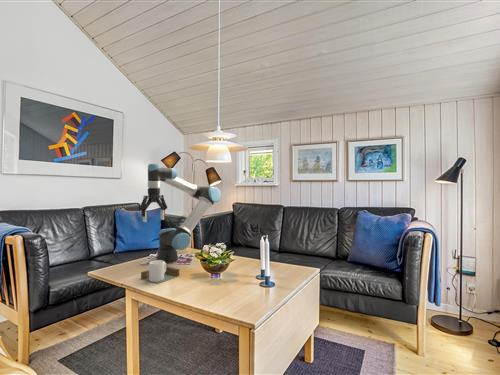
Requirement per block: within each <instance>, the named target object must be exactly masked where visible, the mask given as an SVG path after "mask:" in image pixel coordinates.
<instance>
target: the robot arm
mask: <svg viewBox="0 0 500 375" xmlns="http://www.w3.org/2000/svg"><path fill="white" fill-rule="evenodd" d="M161 182H162V183H165V184H168V185H169V186H172V187H174V188H176V189H178V190H180V191H183V192H185V193H187V194H188V195H189V196H190V197H192V198H194V199H196V200H198V202H197V203H196V204H195V205H194V207H193V209H192V210H191V211H190V213H189V214H188V215H187V217H186V218H185V220H184V221H183V222H182V223H181V225H180V226H177V227H176V228H174V227H172V228H171V227H170V228H163V229H162V228H161V229H160V230H159V233H158V244H159V245H158V247H159V248H158V253H157V256H156V260H162V261H164V262H165V263H166V264H169V263H175V262H178V261H179V255H178V251H183V250H185V249H187V248H188V247H189V246H190V244H191V237H192V232H193V231H194V229H195V228H196V226H197V224H198V223H199V222H200V220H201V219H202V218H203V216H204V215H205V213H206V212H207V210H208V209H209V208H212V206H213V205H214V204H215V203H218V202H220V200H221V197H222V196H221V190H220V189H219V188H218V187H216V186H201V185H198V184H195V183H194V184H193V183H190V182H188V181H186V180H184V179H182V178H180V177H178V170H177V169H176V168H174V167H173V168H172V167H161V164H159V163H149V164H148V166H147V187H148V188H147V194H148V195H143V199H142V202H141V203H140V205H139V209H138V210H139V211H140V212H141V217H142V222H143V223H147V216H148V215H147V214H148V213H147V209H148V208H149V207H150V205H151V204H152V203H156V204H157V205H158V206H159V208H160V212H159V214H160V217H159V218H160V220H162V221H164V220H165V214H166V210H167V209H168V205H167V203H166V200H165V198H164V197H165V196H164V195H163V194H161V188H160V187H161Z"/></svg>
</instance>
